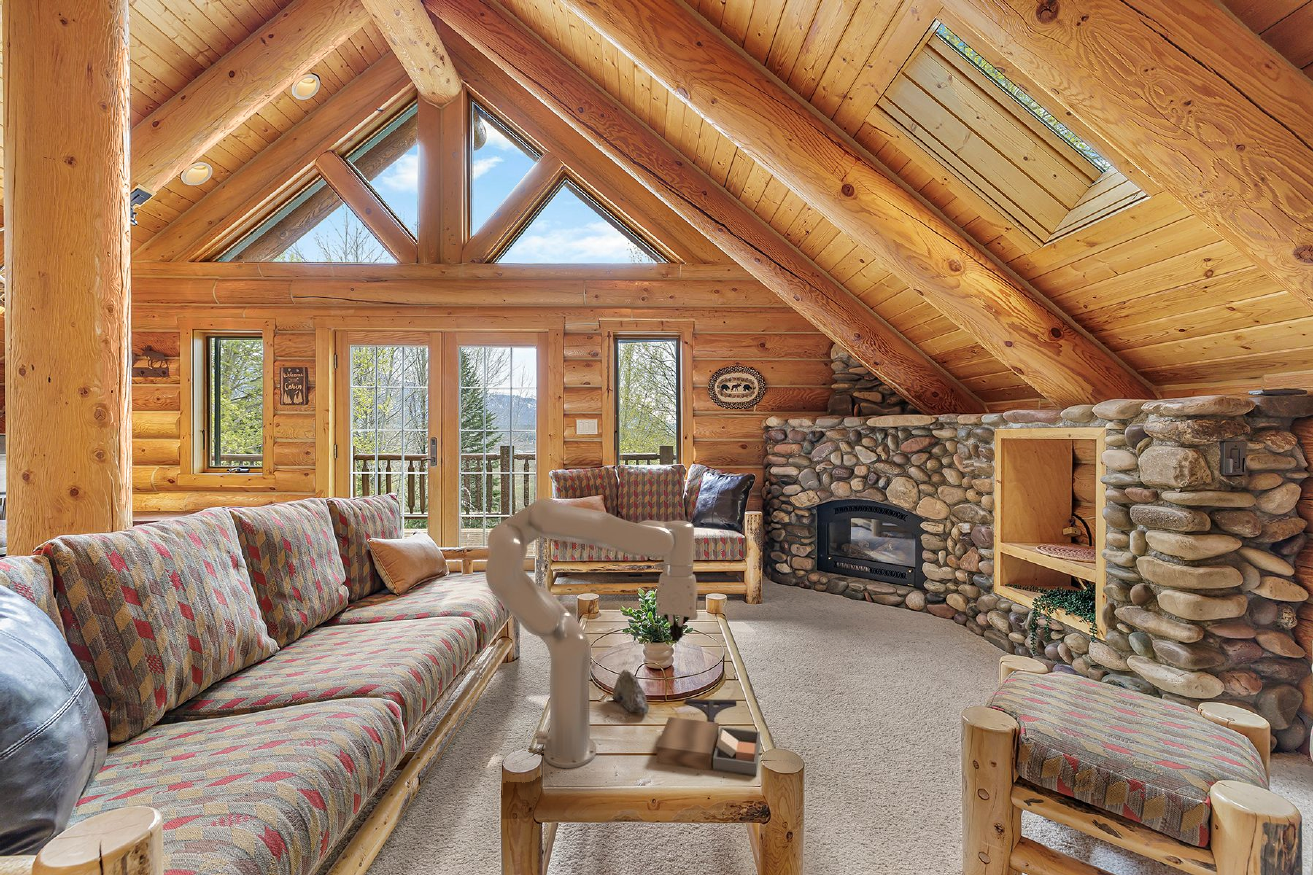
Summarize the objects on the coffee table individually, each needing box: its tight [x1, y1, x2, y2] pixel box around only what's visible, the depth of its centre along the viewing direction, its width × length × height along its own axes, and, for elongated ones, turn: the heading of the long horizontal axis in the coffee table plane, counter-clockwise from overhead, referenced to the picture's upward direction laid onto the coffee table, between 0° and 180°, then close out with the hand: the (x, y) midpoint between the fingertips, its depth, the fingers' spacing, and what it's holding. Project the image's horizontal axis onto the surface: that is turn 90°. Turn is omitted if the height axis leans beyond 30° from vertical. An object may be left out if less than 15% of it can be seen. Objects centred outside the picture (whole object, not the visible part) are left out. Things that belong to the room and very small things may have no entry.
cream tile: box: [716, 730, 738, 757], centre depth 148 cm, size 4×4×2 cm
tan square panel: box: [656, 716, 720, 771], centre depth 150 cm, size 13×14×4 cm
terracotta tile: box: [736, 741, 756, 762], centre depth 147 cm, size 4×4×2 cm
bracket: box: [685, 698, 737, 722], centre depth 167 cm, size 14×15×3 cm
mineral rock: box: [612, 669, 650, 715], centre depth 171 cm, size 13×11×10 cm
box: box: [712, 726, 761, 777], centre depth 148 cm, size 10×14×3 cm
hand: (676, 639), depth 157 cm, fingers closed
